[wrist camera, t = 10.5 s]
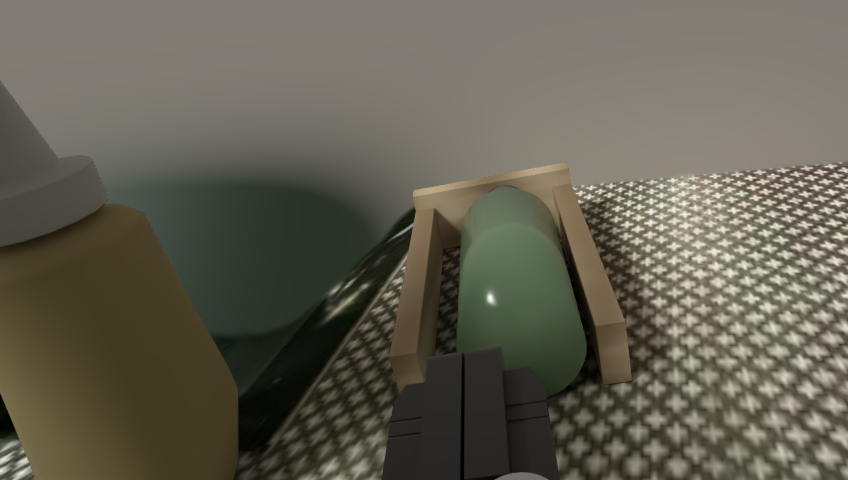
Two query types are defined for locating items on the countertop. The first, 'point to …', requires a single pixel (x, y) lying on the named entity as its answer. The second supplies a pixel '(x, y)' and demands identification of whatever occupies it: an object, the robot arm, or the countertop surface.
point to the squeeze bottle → (100, 330)
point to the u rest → (442, 230)
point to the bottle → (518, 288)
